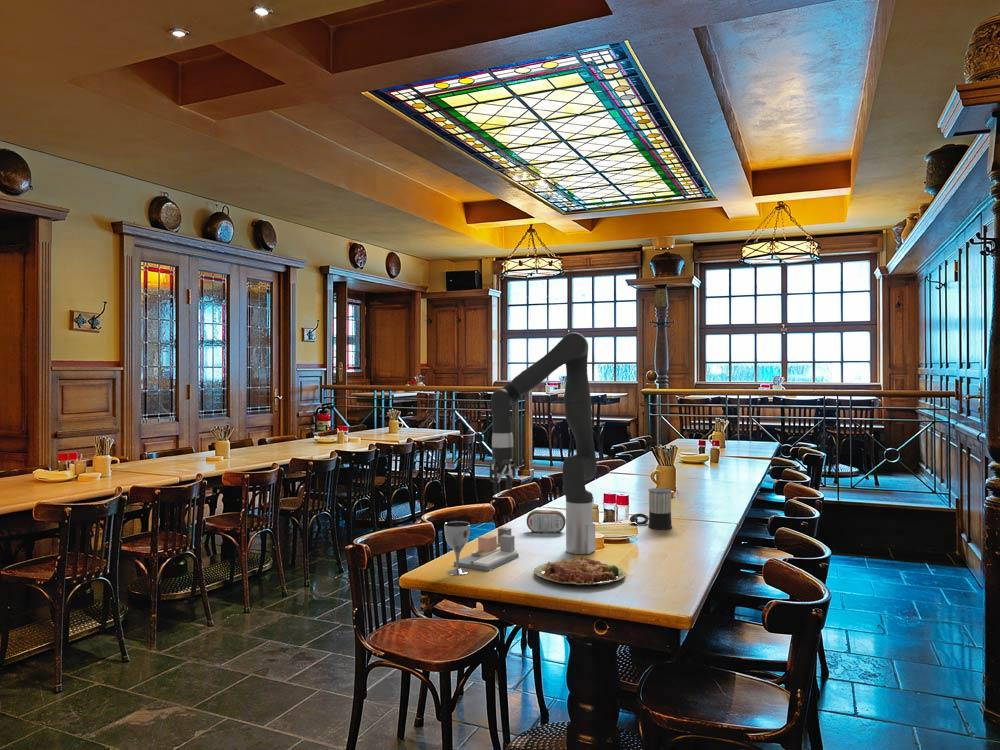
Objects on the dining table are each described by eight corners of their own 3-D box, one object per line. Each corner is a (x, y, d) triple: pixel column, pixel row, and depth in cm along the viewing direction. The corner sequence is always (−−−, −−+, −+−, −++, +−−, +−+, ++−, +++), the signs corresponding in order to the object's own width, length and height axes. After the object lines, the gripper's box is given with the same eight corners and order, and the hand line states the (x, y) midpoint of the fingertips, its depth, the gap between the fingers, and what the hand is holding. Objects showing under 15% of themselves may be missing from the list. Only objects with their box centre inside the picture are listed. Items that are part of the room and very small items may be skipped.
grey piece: (513, 545, 243) (513, 528, 243) (485, 557, 228) (485, 539, 227) (499, 543, 246) (499, 526, 246) (471, 555, 230) (471, 537, 230)
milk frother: (674, 529, 270) (674, 491, 269) (633, 529, 270) (633, 491, 270) (667, 521, 284) (666, 485, 284) (628, 521, 284) (628, 485, 284)
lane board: (518, 557, 232) (518, 550, 232) (488, 571, 216) (488, 564, 216) (485, 552, 239) (485, 545, 239) (453, 565, 223) (453, 558, 223)
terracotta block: (496, 549, 234) (496, 536, 234) (489, 552, 231) (489, 538, 231) (485, 547, 237) (485, 534, 237) (478, 550, 233) (478, 537, 233)
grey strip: (516, 553, 232) (516, 536, 232) (487, 566, 216) (487, 548, 216) (502, 551, 235) (502, 534, 235) (472, 564, 219) (472, 545, 219)
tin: (565, 531, 268) (565, 510, 268) (565, 533, 265) (565, 511, 265) (526, 531, 269) (526, 509, 269) (526, 533, 266) (526, 511, 266)
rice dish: (558, 563, 230) (557, 546, 230) (639, 571, 216) (638, 553, 216) (517, 585, 205) (516, 567, 206) (605, 596, 192) (604, 577, 192)
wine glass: (446, 568, 219) (445, 521, 219) (471, 568, 219) (470, 521, 219) (443, 575, 211) (442, 526, 211) (469, 576, 211) (468, 526, 211)
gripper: (501, 448, 237) (502, 495, 237) (521, 444, 249) (522, 489, 249) (482, 447, 241) (483, 493, 241) (503, 443, 253) (504, 487, 253)
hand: (503, 491), depth 245 cm, fingers open, 8 cm apart
